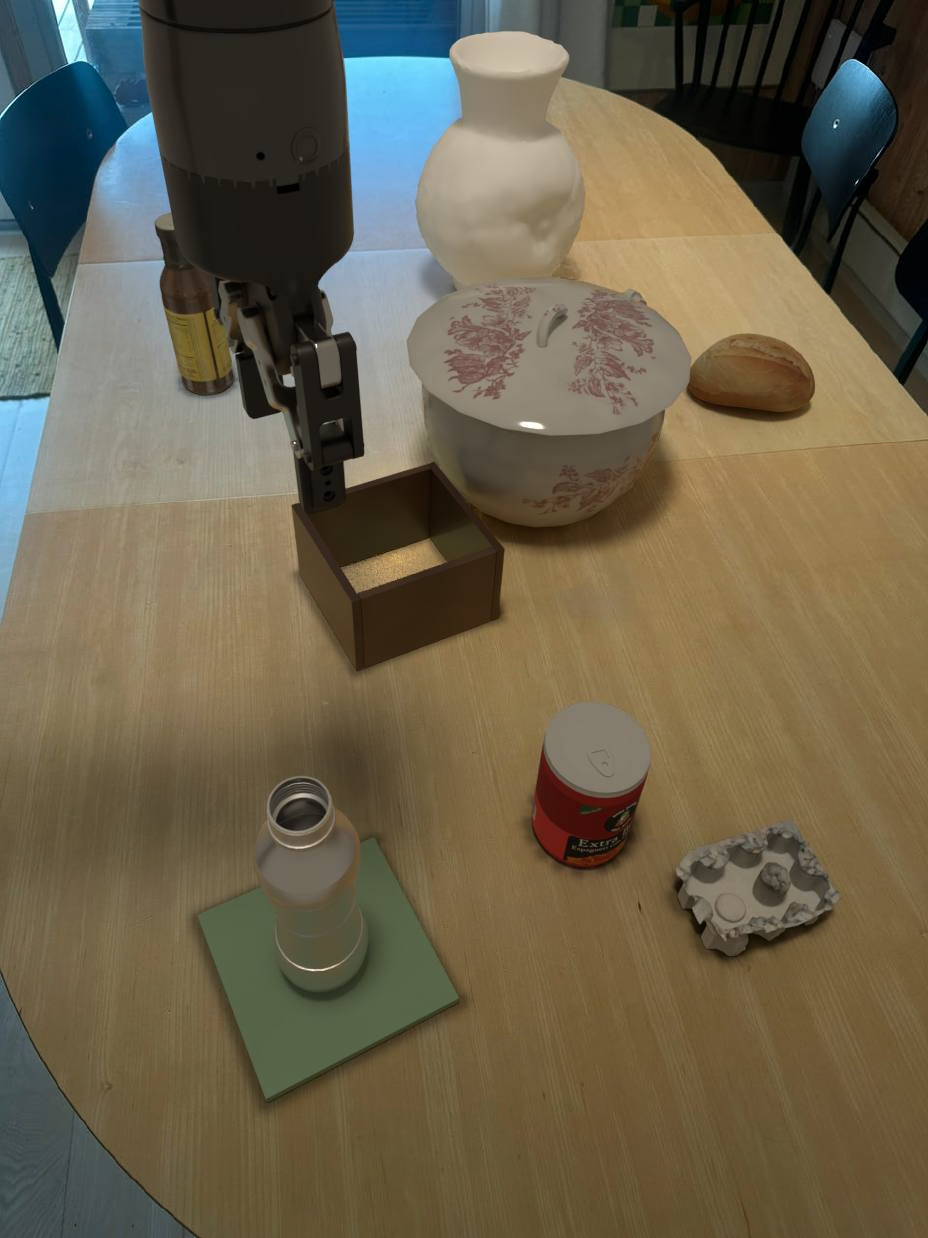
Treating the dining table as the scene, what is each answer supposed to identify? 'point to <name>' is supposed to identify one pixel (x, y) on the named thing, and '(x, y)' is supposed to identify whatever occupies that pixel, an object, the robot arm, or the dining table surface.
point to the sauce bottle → (192, 318)
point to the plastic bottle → (311, 885)
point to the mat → (335, 1020)
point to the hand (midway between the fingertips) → (293, 457)
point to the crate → (411, 603)
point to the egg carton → (754, 886)
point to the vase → (502, 166)
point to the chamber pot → (545, 393)
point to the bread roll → (753, 374)
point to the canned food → (589, 782)
